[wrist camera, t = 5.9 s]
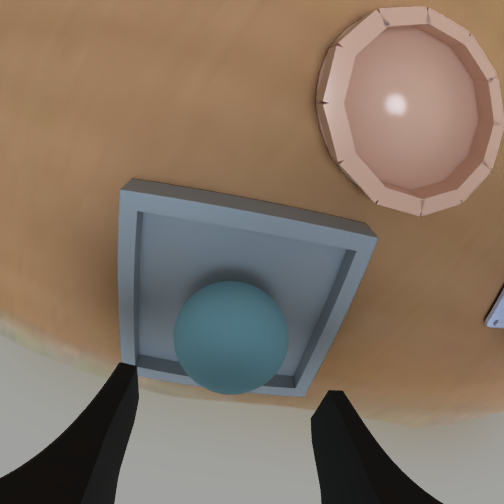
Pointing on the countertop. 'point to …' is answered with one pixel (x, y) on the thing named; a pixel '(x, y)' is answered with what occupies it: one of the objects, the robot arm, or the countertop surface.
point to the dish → (410, 109)
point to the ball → (231, 337)
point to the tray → (232, 272)
